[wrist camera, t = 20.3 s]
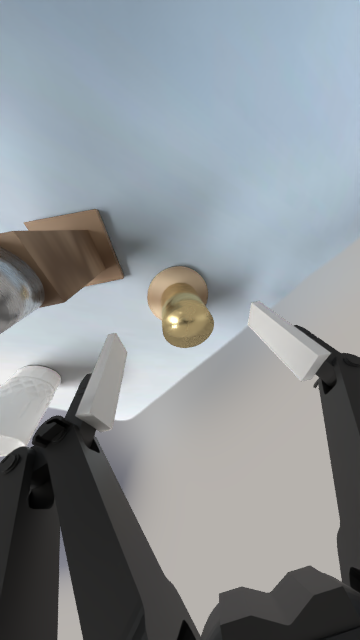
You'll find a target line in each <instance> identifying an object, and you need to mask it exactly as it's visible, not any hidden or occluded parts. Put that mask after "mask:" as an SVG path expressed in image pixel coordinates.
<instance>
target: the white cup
mask: <svg viewBox="0 0 360 640" xmlns="http://www.w3.org/2000/svg"><path fill="white" fill-rule="evenodd" d="M60 383H61V376H60V375H59V374H58V373H57V372H56V371H54V370H52V369H49V368H46V367H42V366H26V367H23V368H20V369H18V370H17V371H16V372H15V373H14V374H13V375H12V376H11V377H10V378H9V379H8V380H7V381H6V382H5V383H3V384H2V385H0V457H1V456H7V455H8V454H9V453H11V452H12V451H13V450H14V449H16V448H18V447H22V446H27V444H28V442H29V440H30V439H31V437H32V435H33V433H34V431H35V430H36V428H37V426H38V424H39V422H40V420H41V419H42V417H43V415H44V413H45V412H46V410H47V408H48V406H49V404H50V402H51V400H52V398H53V396H54V393H55V392H56V390H57V388H58V387H59V385H60Z"/></svg>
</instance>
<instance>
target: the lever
mask: <svg viewBox="0 0 360 640" xmlns="http://www.w3.org/2000/svg"><path fill="white" fill-rule="evenodd" d="M44 297H45V294H44V288H43V285H42V283H41V281H40V279H39V277H38V276H37V274H36V273H35V272H34V271H33V270H32V269H31V267H30V266H29V265H28V264H26V263H25V262H24V261H23V260H22V259H20V258H19V257H18V256H16V255H15V254H13V253H11V252H10V251H8V250H6V249H4V248H2V247H0V334H1V333H2V332H4V331H5V330H7V329H8V328H10V327H11V326H13V325H14V324H16V323H17V322H19V321H20V320H22V319H23V318H24V317H26V316H27V315H29V314H30V313H32V312H33V311H35V310H36V309H38V308H39V307H40V306H41V305H42V303H43V301H44Z"/></svg>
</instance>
